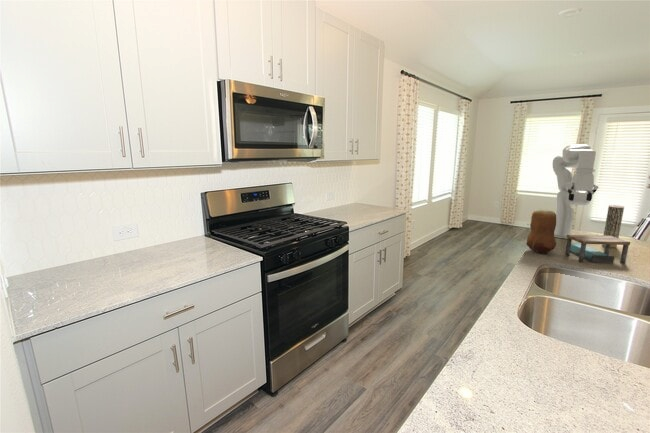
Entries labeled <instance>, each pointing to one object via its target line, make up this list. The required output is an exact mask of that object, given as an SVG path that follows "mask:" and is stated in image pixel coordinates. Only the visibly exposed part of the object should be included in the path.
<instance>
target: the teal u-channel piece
mask: <svg viewBox="0 0 650 433" xmlns="http://www.w3.org/2000/svg"><path fill="white" fill-rule="evenodd" d="M580 249H581V243H579V242H571V248H570V252H572V253H574V254H576V253H580ZM592 255H593V256H607V254H605V253H604V252H602V251H600V250H597V249H594V248H592V247H590V246H587V245H586V249H585V255H584V256H586V257H589V258H591V257H592Z"/></svg>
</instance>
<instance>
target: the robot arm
mask: <svg viewBox="0 0 650 433" xmlns="http://www.w3.org/2000/svg"><path fill="white" fill-rule="evenodd" d="M596 153H597V152H596V150H594V149H591V146H590V145H589V144H570V145H566V146H565V147H564V148H563V149H562V153H561V154H562V155H557V156H555V157H554V158H553V160H552V169H553V172H554V174H555V175H556V180H557V187H558V190H559V191H558V192H557V194H556V212H555V214H556V227H555V231H554V236H555V238H558V239H565V240H567V235H572V234H571V233H572V229H573V224H574V223H573V222H574V216H575V210H574V209H573V207H572V206H587V205H589V204H590V202H591V201H592V199H593V195H594V194H595V193H596V192H597V191H598V189H599V186H598V185H596V184H595V183H594V182H595V179H594V178H595V176H594V174H593V173H594V172H596V170H595V169H594V167H595V161H596V160H595V159H596ZM569 168H574V169H575V168H576V171H575V173H572V172H571V171H570V170H569Z"/></svg>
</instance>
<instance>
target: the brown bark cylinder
mask: <svg viewBox="0 0 650 433" xmlns="http://www.w3.org/2000/svg"><path fill="white" fill-rule="evenodd" d="M624 210H625V206H624V205H619V204H617V205H616V204H609V205H608V208H607V214H606V220H605V225H604V230H603V235H605V236H613V237H616V238H619V237H620V231H621V227H622V226H621V225H622V222H623V215H624ZM619 239H620V238H619ZM601 245H602V246H603V247H605V245H606V244H601ZM617 247H618V245H610V249H612V248H615V249H616V248H617Z"/></svg>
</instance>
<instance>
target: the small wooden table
mask: <svg viewBox="0 0 650 433" xmlns="http://www.w3.org/2000/svg"><path fill="white" fill-rule="evenodd" d="M574 241H575V242H576V243H580V244H581V249H580V253H575V256H577V257H578V261H579V263H584V261H588V262H590V263H593V264H594V263H597V264H614V260H615V256H614V255H610V249H611V247H610V245H617V246H619V245H620V246H622V251H621V256H620V259H619V263H620V264H624V265H625V264H626V261H627V256H628V252H629V246H630V245H631V241H628V240H625V239H622V238H616V237H613V236H605V235H604V234H603V235H601V234H600V235H599V234H598V235H597V234H593V235H592V234H571V235H567V239H566V244H565V251H564V256H567V257H569V256H570V254H571V251H570V248H571V243H573V242H574ZM602 244H606V245H605V246H604V252H603V253H605V254H607V256H593V255H592V257H591V258H589V257H586V256H584V255H585V249H586V246H587V245H602Z"/></svg>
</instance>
